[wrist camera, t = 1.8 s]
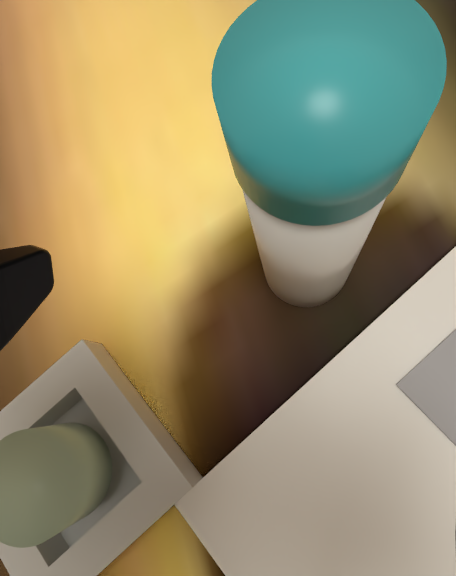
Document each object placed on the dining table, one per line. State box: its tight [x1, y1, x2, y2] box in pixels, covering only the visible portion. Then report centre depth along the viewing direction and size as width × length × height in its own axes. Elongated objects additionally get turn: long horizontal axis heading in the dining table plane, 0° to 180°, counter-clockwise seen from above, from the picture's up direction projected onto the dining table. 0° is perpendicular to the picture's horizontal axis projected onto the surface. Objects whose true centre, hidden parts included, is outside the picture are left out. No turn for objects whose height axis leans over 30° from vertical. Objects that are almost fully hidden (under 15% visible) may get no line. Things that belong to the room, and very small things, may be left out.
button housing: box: [0, 339, 203, 576], centre depth 19 cm, size 8×8×2 cm
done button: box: [0, 423, 112, 548], centre depth 17 cm, size 4×4×3 cm
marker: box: [212, 0, 447, 307], centre depth 14 cm, size 4×4×13 cm
